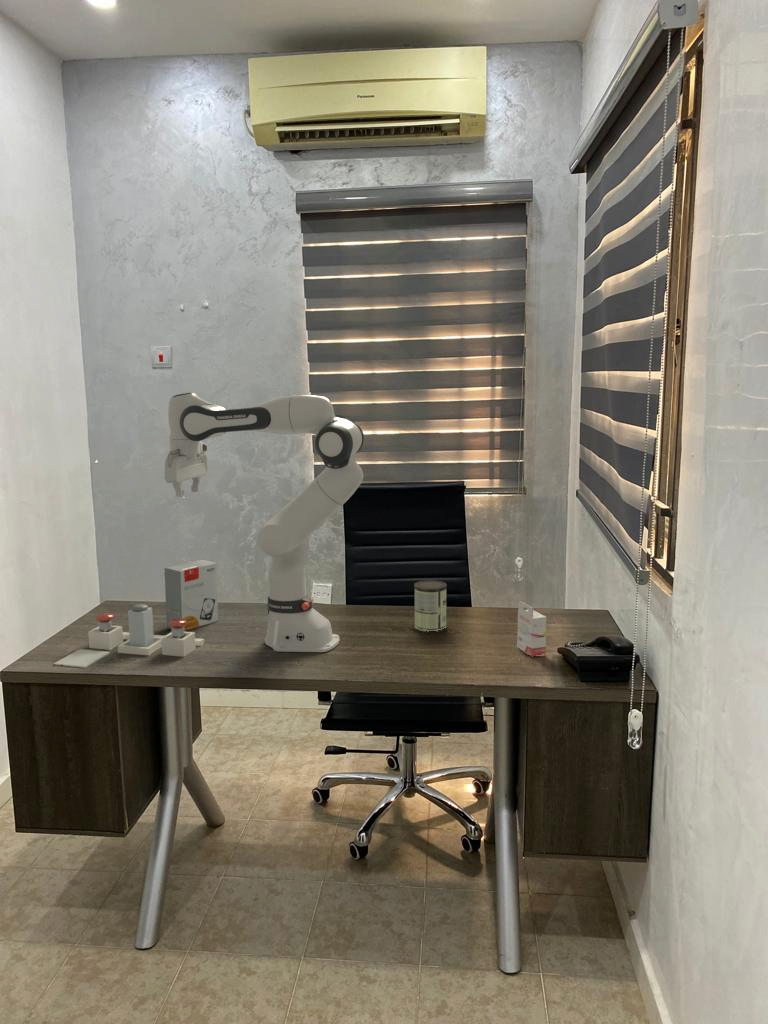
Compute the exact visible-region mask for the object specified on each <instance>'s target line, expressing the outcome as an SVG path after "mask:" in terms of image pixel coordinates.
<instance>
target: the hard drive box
mask: <svg viewBox="0 0 768 1024" xmlns="http://www.w3.org/2000/svg"><path fill="white" fill-rule="evenodd" d="M217 570H218V567H217V562H216V561H215V562H214V561H210V560H205V559H197V560H195V561H189V562H185V563H181V564H175V565H173V566H166V567H164V570H163V571H164V590H165V612H166V613H165V615H166V628H167V629H170V630H172V627H170V626H169V621H170V620H173V619H186V622H187V624H186V625H185V626H184V631H185V632H187V631H190V630H191V631H192V630H193V629H195V628H200V627H202V626H205V625H210V624H212V623H215V622H219V613H218V612H219V609H218V607H219V605H218V603H219V602H218V574H217V573H218V571H217Z"/></svg>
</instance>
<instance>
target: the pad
mask: <svg viewBox="0 0 768 1024" xmlns="http://www.w3.org/2000/svg"><path fill="white" fill-rule="evenodd" d="M110 654H111V653H110V651H103V650H93V649H81V648H80V649H77V650H75V651H74V652H72V653H70V654H68V655H66V656H64V657H63V658H61V659H59V660H57V661H56V662H54V663H53V665H54V664H55V665H54V666H61V665H63V666H62V667H72V668H83V669H85V668H88V667H89V666H91V665H93V664H94V663H96V662H98V661H99V660H101V659H103V658H105V657H106V656H108V655H110Z"/></svg>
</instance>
